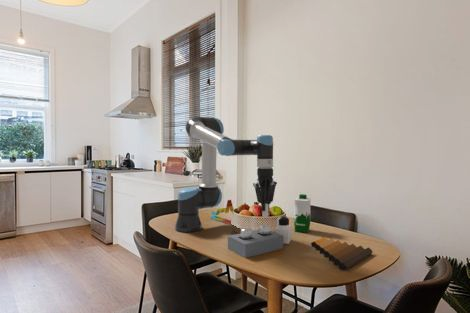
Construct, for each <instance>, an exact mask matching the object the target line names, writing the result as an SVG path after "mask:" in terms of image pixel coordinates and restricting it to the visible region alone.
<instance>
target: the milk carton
mask: <svg viewBox="0 0 470 313" xmlns="http://www.w3.org/2000/svg"><path fill="white" fill-rule="evenodd" d="M293 202H294V203H293V205H294V206H293V220H294V221H293V224H294V226H293V227H294V232H297V233H308V232H309V230H310V227H311V226H310V225H311V198H309V197H307V194H304V193H303V194H302V193H301V194H299V197H296V198H295V199H294V200H293Z"/></svg>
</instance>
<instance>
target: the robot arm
mask: <svg viewBox="0 0 470 313" xmlns="http://www.w3.org/2000/svg"><path fill="white" fill-rule="evenodd" d="M185 130H186V131H185V132H186V133H187V135H188V136H190V137H192V138H193V139H196V140H197V139H198V140H200V143H202V145H201V148H202V150H201V182H200V184H199V185H198V186H197V187H196V186H191V187H185V188H181V189H180V190H179V191H178V193H177V218H176V221H175V224H174V225H175V226H174V230H175V231H176V232H181V233H192V232H197V231H201V230H202V226H203V225H202V222H201V219H200V216H199V213H200V212H199V210H201V209H209V208H211V209H212V208H214V207H218V206H219V205H220V204H221V203H222V199H223V192H222V190H221V189H220V187H219V185H218V183H217V152H218V153H219V155H221V156H226V157H230V156H231V157H233V156H256V167H257V170H256V174H257V179H256V180H257V181H256V182H254V183H253V182H252V184H253V185H252V186H253V187H254V191H255V195H256V196H255V197H256V201H257V203H259V204H260V207H261V214H262V218H265V219H269V211H270V204H271V203H272V202H274V196H275V190H276V186H277V184H278V182H277V181H275V180H274V178H273V176H274V168H273V167H274V138H273V135H270V134H260V135H257V136H256V139H233V138H230V137H228V136H226V135H224V130H225V129H224V124H223V122H222V121H221V119H219V118H217V117H207V116H206V117H205V116H193V117H191V118H189V119H188V121H186V123H185Z"/></svg>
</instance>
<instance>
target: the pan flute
mask: <svg viewBox="0 0 470 313" xmlns="http://www.w3.org/2000/svg"><path fill="white" fill-rule="evenodd" d="M310 244H311V247H312V248H314V249H315V251H318V252H319V254H321V255H323V257H324V258H327V259H328V261H329V262H333V265H335V266H338V268H339V270H342V271H345V272H347V271H348V270H349V269H352V268H353V267H355V266H357V265H358V264H359V263H360V262H362V261H364V260H366V259H367V258H368V257H370V256H372V254H373V250H372V249H371V248H370V247H366V248H365V247H363V246H362V245H359V246H356V245H355V244H354V243H351V244H349V243H347V242H346V241H345V242H341V241H340V240H339V239H338V240H336V241H335V240H334V239H333V238H329V239H328V238H327V237H326V236H324V237H322V238H319V239H316V240H315V241H312V242H311V243H310Z"/></svg>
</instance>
